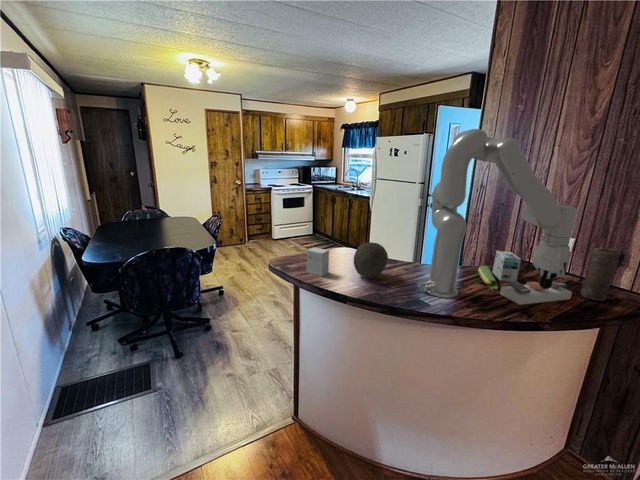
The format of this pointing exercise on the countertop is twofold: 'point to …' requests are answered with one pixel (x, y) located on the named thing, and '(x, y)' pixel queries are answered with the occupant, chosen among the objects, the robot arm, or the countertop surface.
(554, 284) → the rocker right
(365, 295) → the countertop surface
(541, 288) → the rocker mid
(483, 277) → the edible corn
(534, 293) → the rocker switch panel
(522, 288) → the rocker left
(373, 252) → the dark brown sphere
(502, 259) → the light bulb box
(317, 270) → the small box
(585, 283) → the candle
